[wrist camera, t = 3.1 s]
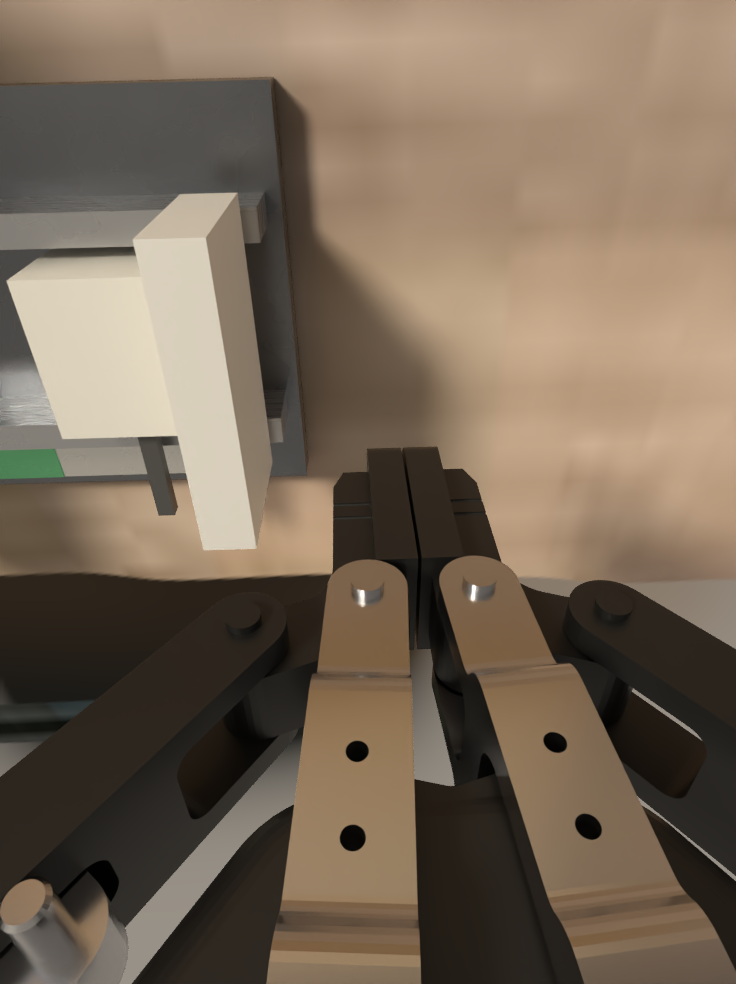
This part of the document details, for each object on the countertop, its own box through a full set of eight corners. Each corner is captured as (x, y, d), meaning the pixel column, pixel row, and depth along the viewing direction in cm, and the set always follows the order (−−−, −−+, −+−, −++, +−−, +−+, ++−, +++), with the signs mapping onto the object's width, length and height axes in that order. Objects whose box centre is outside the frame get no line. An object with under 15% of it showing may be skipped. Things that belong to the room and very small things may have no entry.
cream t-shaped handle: (248, 176, 20) (206, 237, 14) (283, 468, 26) (263, 593, 20) (35, 182, 20) (-98, 245, 14) (122, 472, 26) (57, 599, 20)
